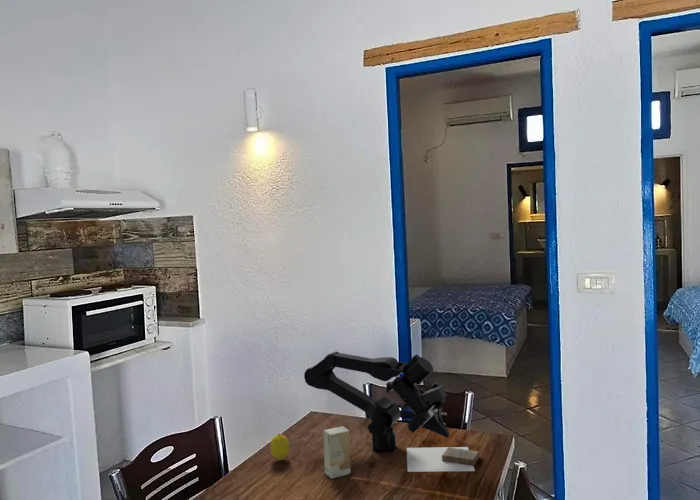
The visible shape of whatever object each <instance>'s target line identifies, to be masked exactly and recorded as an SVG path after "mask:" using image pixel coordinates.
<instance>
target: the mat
mask: <svg viewBox="0 0 700 500" xmlns="http://www.w3.org/2000/svg"><path fill="white" fill-rule="evenodd" d="M447 448H448V447H447V446H446V447H444V446H443V447H406V466H407V472H408V473H413V472H415V473H418V472H420V473H421V472H424V473H425V472H426V473H427V472H429V473H430V472H431V473H432V472H434V473H435V472H437V473H438V472H476V470H475V465H474V466H470V465H463V464H457V463H450V462H444V461H442V455H443V454H444V452H445V451H446V450H447ZM451 448H458V449H465V450H470V449H469V446H459V447H458V446H455V447H454V446H453V447H452V446H451Z"/></svg>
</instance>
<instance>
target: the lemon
mask: <svg viewBox="0 0 700 500" xmlns="http://www.w3.org/2000/svg"><path fill="white" fill-rule="evenodd" d="M270 441H271V442H270V454H271V455H272V457H273V458H275V459H277V460H279V462H280V461H282V460H283V459H285V458H286V457H287V456H288V454H289V451H290V442H289V440H288V437H287V436H285V435H284V434H281V433H277V434H276V435H275V436H273V437H272V439H271V440H270Z"/></svg>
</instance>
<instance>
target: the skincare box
mask: <svg viewBox="0 0 700 500" xmlns="http://www.w3.org/2000/svg"><path fill="white" fill-rule="evenodd" d="M323 458H324V459H323V460H324V464H323V465H324V474H325V475H326V476H327V477H329V479H335V478H339V477H343V476H347V475H350V474H351V472H352V470H351V466H352V465H351V440H350V430H349V429H348V428H346V427H345V426H343V425H342V426H338V427H332V428H329V429H323Z"/></svg>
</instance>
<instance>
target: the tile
mask: <svg viewBox="0 0 700 500" xmlns="http://www.w3.org/2000/svg"><path fill="white" fill-rule="evenodd" d="M451 447H452V446H451ZM451 447H448V448H447V450H446V451H445V452H444V454H443V455H442V461H444V462H450V463H457V464H463V465H470V466H474V467H475V465H476V464H477V462H478V460H479V458H480V451H477V450H471V449H469V450H465V449H458V448H451Z"/></svg>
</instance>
